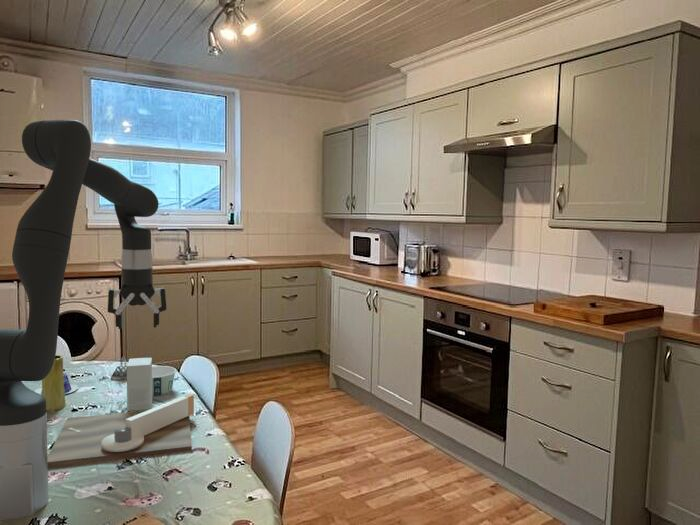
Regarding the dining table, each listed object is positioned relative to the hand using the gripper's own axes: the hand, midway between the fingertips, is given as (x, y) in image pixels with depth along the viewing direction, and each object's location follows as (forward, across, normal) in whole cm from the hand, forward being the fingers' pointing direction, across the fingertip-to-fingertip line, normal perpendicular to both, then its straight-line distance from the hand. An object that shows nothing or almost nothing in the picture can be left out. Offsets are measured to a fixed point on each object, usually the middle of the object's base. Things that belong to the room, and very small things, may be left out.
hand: (137, 327), depth 139 cm
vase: (+25, -23, +16) cm, 38 cm away
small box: (+25, 0, +10) cm, 27 cm away
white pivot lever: (+23, -3, -20) cm, 30 cm away
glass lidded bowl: (+26, -4, +41) cm, 48 cm away
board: (+25, -3, -12) cm, 27 cm away
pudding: (+26, -24, +31) cm, 47 cm away
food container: (+25, +4, +22) cm, 34 cm away
